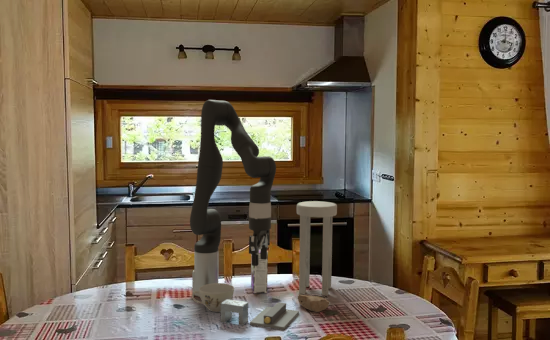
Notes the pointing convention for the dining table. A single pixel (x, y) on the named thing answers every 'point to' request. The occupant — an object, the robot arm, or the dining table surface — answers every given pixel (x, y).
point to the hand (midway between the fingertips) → (259, 262)
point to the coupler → (275, 317)
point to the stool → (306, 212)
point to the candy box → (259, 275)
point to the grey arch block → (234, 310)
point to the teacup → (214, 295)
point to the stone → (313, 302)
